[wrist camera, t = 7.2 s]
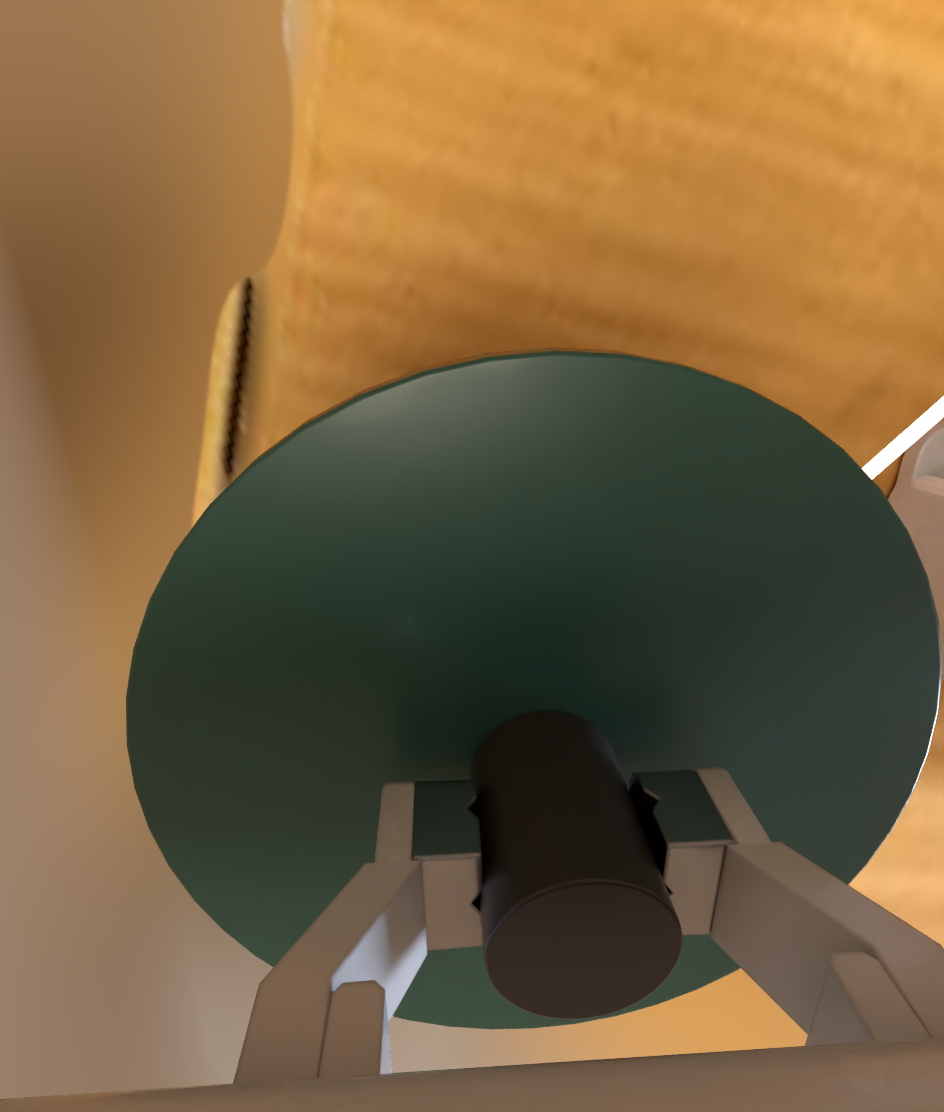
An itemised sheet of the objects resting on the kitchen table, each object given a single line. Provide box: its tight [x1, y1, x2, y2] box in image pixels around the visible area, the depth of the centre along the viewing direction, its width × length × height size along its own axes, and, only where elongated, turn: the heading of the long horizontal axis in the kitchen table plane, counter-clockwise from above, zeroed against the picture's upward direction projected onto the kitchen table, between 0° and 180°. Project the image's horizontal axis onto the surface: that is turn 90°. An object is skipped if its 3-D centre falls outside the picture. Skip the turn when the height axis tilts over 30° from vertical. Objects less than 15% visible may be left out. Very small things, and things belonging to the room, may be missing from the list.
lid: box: [126, 348, 942, 1029], centre depth 11 cm, size 14×14×5 cm
